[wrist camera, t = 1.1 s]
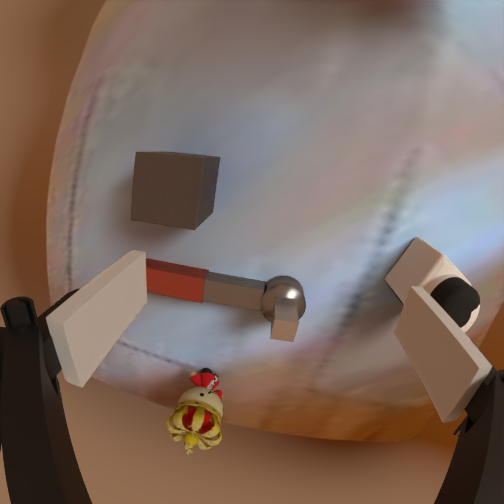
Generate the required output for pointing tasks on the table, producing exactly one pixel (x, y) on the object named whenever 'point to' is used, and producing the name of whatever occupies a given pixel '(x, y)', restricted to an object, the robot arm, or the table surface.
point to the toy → (198, 412)
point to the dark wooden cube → (174, 188)
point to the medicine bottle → (435, 282)
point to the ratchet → (232, 293)
